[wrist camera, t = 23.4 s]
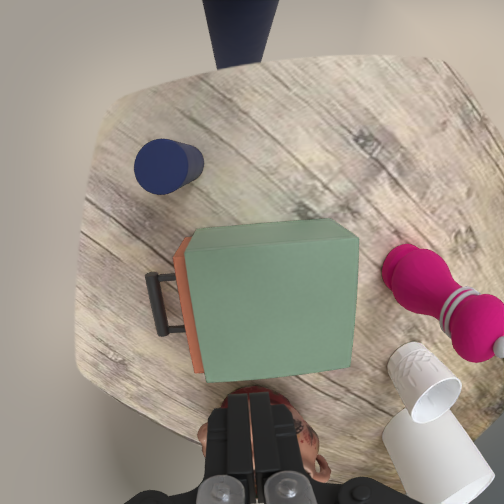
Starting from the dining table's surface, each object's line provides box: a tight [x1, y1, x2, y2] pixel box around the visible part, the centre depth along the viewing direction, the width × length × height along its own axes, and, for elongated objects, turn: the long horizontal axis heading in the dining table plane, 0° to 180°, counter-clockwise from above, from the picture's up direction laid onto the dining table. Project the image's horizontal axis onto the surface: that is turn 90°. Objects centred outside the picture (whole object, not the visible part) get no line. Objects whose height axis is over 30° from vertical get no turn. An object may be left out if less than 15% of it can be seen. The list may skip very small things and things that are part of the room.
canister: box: [382, 408, 495, 504], centre depth 36 cm, size 14×14×20 cm
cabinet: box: [184, 218, 359, 383], centre depth 31 cm, size 15×14×9 cm
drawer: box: [145, 237, 205, 373], centre depth 31 cm, size 18×12×7 cm
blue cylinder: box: [134, 139, 204, 195], centre depth 26 cm, size 4×4×11 cm
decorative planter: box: [197, 386, 331, 499], centre depth 35 cm, size 20×12×14 cm, turn 62°
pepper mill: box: [382, 244, 504, 363], centre depth 26 cm, size 7×7×20 cm
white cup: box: [387, 341, 462, 423], centre depth 36 cm, size 8×8×10 cm
